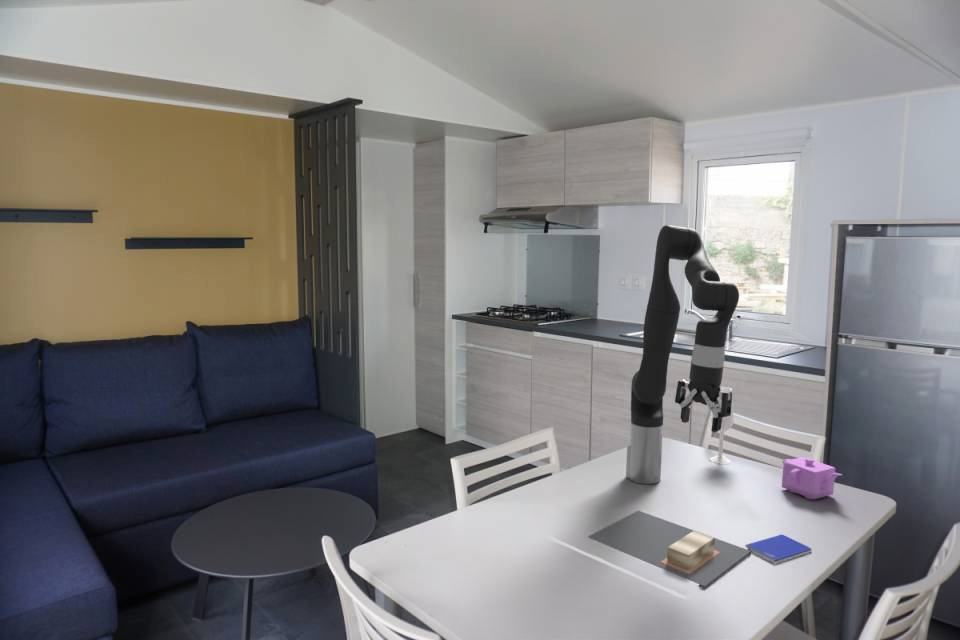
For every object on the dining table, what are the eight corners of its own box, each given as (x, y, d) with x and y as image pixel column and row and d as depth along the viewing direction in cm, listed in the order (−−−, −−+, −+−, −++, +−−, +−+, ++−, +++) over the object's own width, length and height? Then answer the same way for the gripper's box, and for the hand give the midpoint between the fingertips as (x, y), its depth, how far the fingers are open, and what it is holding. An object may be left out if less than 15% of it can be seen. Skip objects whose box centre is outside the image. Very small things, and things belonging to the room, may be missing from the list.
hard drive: (775, 559, 145) (811, 548, 150) (745, 543, 152) (781, 533, 158) (774, 566, 145) (811, 554, 151) (744, 550, 152) (780, 539, 158)
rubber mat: (587, 539, 156) (587, 536, 156) (638, 512, 171) (638, 510, 171) (704, 588, 135) (704, 585, 134) (750, 553, 150) (751, 550, 150)
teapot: (853, 501, 179) (857, 466, 178) (821, 511, 173) (824, 474, 172) (795, 480, 195) (798, 447, 194) (764, 487, 189) (766, 454, 187)
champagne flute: (708, 462, 209) (712, 389, 206) (709, 456, 215) (713, 385, 212) (730, 465, 207) (735, 391, 203) (731, 458, 213) (735, 387, 210)
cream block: (693, 544, 152) (694, 530, 152) (713, 552, 149) (714, 537, 148) (667, 562, 144) (667, 547, 143) (687, 570, 140) (688, 555, 140)
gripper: (742, 367, 155) (734, 433, 158) (691, 356, 167) (684, 417, 169) (724, 370, 151) (716, 437, 153) (673, 358, 162) (666, 420, 164)
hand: (699, 426), depth 161 cm, fingers open, 8 cm apart
